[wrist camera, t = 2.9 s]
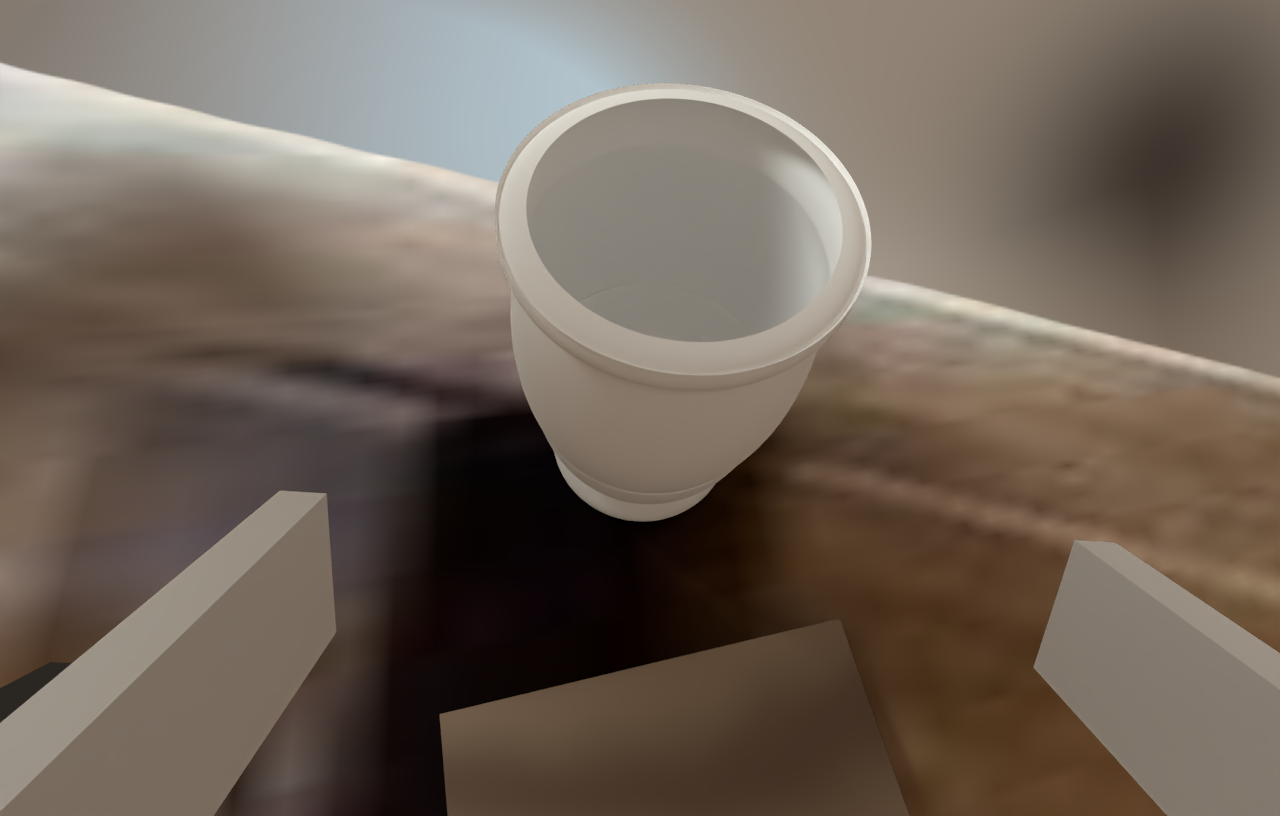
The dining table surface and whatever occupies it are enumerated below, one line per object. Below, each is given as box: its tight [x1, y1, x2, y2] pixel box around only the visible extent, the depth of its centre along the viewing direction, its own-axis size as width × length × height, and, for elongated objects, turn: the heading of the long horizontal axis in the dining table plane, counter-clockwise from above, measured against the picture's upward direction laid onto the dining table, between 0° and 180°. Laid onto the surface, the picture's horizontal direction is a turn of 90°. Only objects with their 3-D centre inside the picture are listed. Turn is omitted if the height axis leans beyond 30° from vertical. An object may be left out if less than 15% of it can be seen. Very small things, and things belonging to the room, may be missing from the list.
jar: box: [495, 83, 871, 522], centre depth 24 cm, size 11×10×15 cm
